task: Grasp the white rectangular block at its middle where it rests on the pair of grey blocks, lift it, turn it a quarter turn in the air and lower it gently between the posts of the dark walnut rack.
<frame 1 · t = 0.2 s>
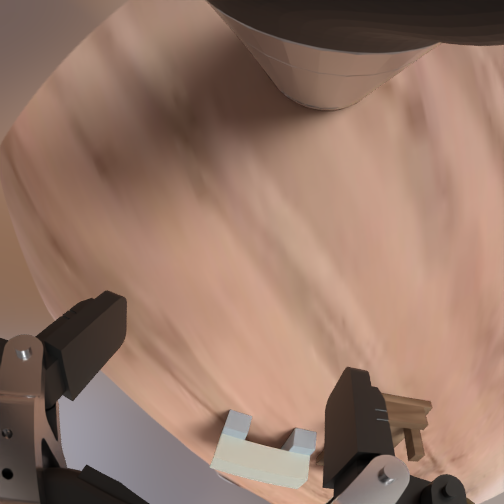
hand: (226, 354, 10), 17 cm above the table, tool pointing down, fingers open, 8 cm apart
white rectangular block: (263, 451, 34), point 3 cm above the table, touching pair of grey blocks
pair of grey blocks: (266, 435, 37), on the table
rack: (370, 435, 34), on the table
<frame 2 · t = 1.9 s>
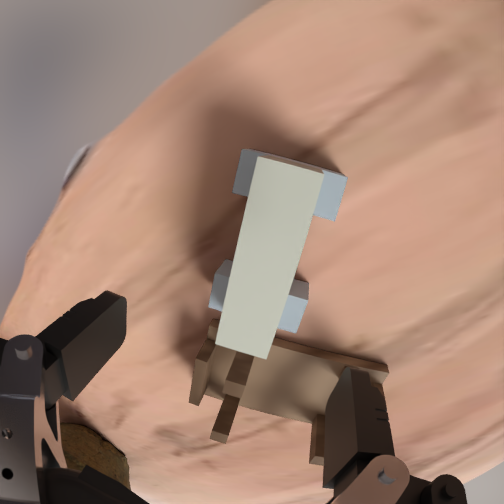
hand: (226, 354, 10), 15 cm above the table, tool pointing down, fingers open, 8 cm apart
white rectangular block: (271, 248, 21), point 3 cm above the table, touching pair of grey blocks
clay pot: (94, 444, 43), on the table
pair of grey blocks: (276, 236, 24), on the table
rack: (289, 379, 28), on the table
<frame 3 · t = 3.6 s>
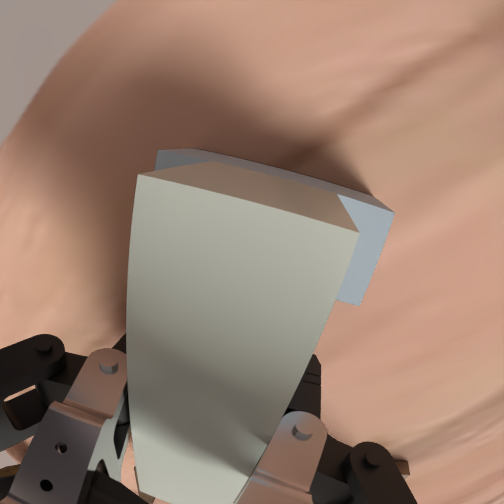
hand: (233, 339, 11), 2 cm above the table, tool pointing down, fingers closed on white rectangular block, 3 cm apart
white rectangular block: (229, 350, 10), point 3 cm above the table, touching pair of grey blocks, gripper
pair of grey blocks: (246, 309, 13), on the table
rack: (272, 477, 17), on the table
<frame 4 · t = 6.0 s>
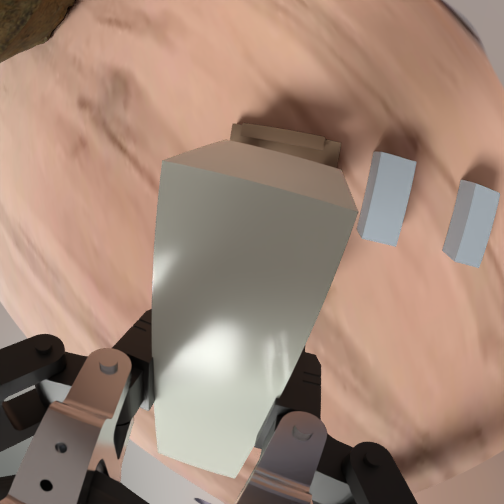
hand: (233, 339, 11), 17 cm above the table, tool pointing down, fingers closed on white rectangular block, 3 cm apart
white rectangular block: (242, 314, 11), point 17 cm above the table, tilted 7°, touching gripper
clay pot: (50, 0, 22), on the table
pair of grey blocks: (426, 207, 24), on the table
rack: (270, 227, 27), on the table
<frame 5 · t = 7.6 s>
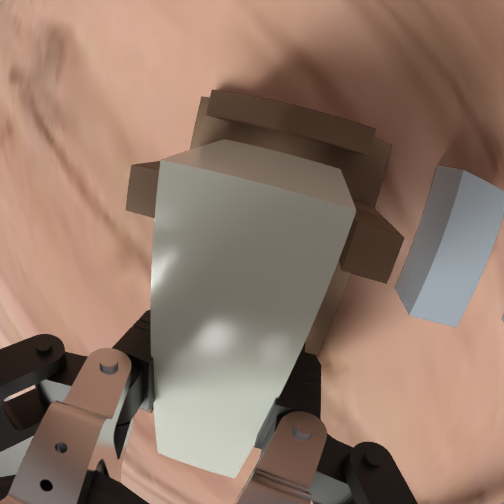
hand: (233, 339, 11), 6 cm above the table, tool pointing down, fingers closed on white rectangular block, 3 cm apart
white rectangular block: (242, 314, 11), point 5 cm above the table, tilted 7°, touching gripper
pair of grey blocks: (495, 259, 14), on the table
rack: (256, 276, 17), on the table
when the fingers open (3 cm above the table, at t = 8.6 s): white rectangular block stays where it is, resting on rack.
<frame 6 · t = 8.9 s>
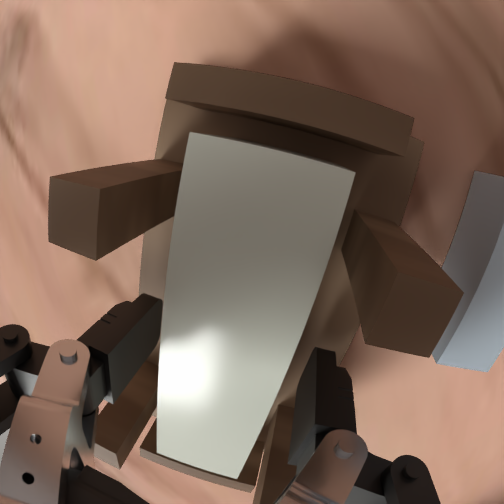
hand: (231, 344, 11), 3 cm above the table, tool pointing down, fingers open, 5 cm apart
white rectangular block: (245, 307, 12), point 1 cm above the table, touching rack
rack: (245, 308, 13), on the table
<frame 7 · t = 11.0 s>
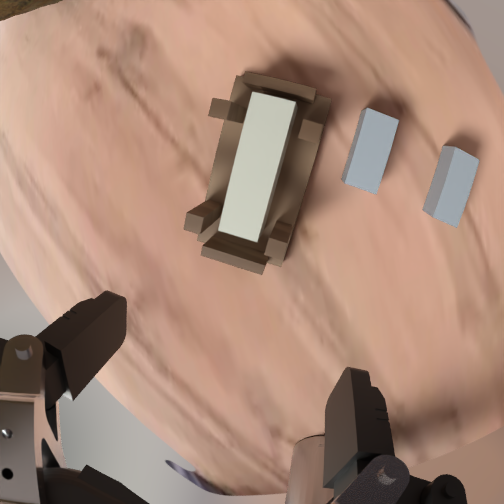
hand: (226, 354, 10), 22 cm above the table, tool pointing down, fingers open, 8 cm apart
white rectangular block: (262, 164, 28), point 1 cm above the table, touching rack
pair of grey blocks: (408, 166, 26), on the table
rack: (261, 170, 29), on the table
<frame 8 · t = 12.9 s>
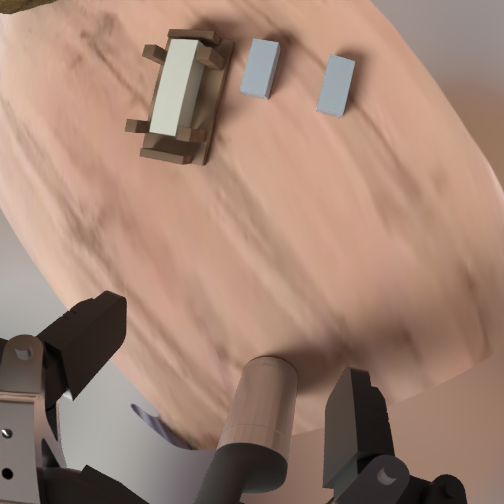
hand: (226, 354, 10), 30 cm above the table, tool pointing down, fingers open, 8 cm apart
white rectangular block: (185, 90, 34), point 1 cm above the table, touching rack
pair of grey blocks: (298, 79, 33), on the table
rack: (187, 97, 36), on the table
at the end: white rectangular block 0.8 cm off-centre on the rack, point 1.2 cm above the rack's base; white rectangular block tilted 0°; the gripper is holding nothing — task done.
